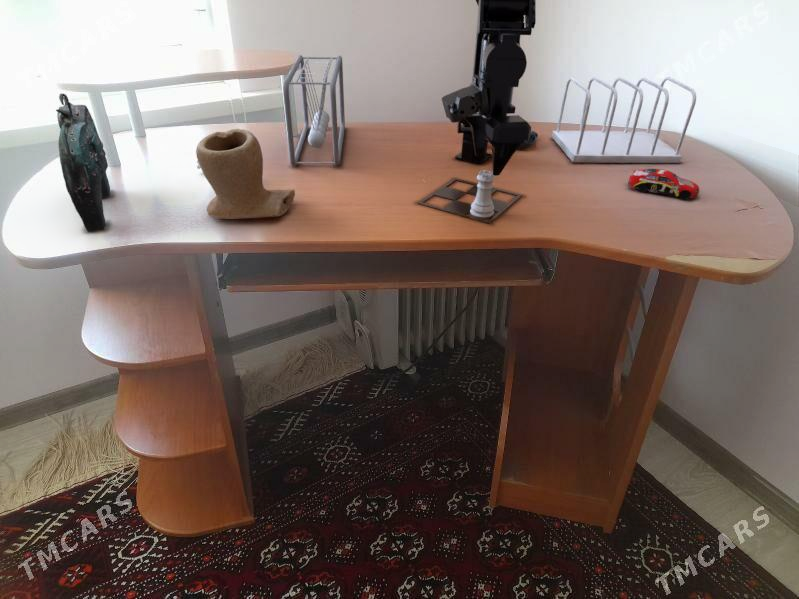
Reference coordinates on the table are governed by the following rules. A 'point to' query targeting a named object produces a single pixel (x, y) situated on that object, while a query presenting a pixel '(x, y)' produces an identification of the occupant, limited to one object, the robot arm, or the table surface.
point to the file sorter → (620, 143)
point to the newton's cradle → (321, 117)
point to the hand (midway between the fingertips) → (486, 165)
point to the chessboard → (465, 208)
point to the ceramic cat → (83, 163)
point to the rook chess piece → (483, 196)
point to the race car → (663, 183)
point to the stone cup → (238, 177)
